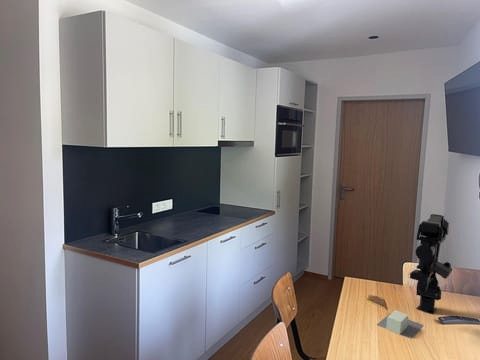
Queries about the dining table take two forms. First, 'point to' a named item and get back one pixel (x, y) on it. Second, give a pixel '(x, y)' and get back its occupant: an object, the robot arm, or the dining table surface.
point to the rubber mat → (409, 331)
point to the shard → (376, 301)
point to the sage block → (397, 322)
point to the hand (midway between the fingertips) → (424, 292)
